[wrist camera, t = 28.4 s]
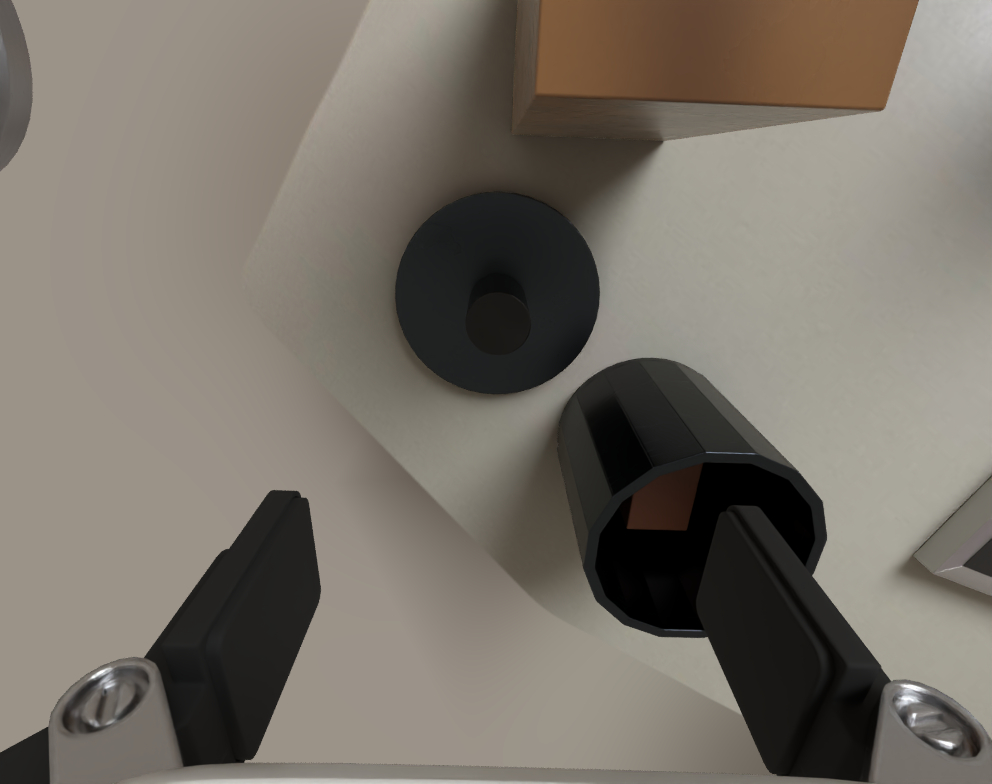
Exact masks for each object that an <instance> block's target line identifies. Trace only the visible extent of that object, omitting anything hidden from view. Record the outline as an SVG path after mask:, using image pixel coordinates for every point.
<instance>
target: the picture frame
mask: <svg viewBox="0 0 992 784" xmlns="http://www.w3.org/2000/svg"><path fill="white" fill-rule="evenodd" d="M913 556H914V557H915V558H916V559H917V560H918V561H919V562H920V563H922V564H923V565H924V566H925V567H926V568H927V569H928V570H929V571H930V572H931V573H932V574H935V575H938V576H940V577H943V578H945V579H948V580H951V581H953V582H956V583H958V584H961V585H964V586H966V587H969V588H972V589H974V590H977V591H979V592H982V593H985V594H987V595H990V596H992V477H991V478H990V479H989V480H988V481H987V482H986V483H985V484H984V485H983V486H982V487H981V488H980V489H979V490H978V491H977V492H976V493H975V494H974V495H973V496H972V497H971V498H970V499H969V500H968V501H967V502H966V503H965V504H964V505H963V506H962V507H961V508H960V509H959V510H958V511H957V512H956V513H955V514H954V515H953V516H952V517H951V518H950V519H949V520H948V521H947V522H946V523H945V524H944V525H943V526H942V527H941V528H940V529H939V530H938V531H937V532H936V533H935V534H934V535H933V536H932V537H931V538H930V539H929V540H928V541H927V542H926V543H925V544H924V545H923V546H922V547H921V548H920V549H919V550H918V551H917V552H916V553H915V554H914V555H913Z"/></svg>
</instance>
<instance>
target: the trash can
mask: <svg viewBox="0 0 992 784" xmlns="http://www.w3.org/2000/svg"><path fill="white" fill-rule="evenodd" d="M557 442H558V447H557V452H558V456H559V461H560V465H561V470H562V474H563V479H564V483H565V488H566V492H567V497H568V501H569V506H570V510H571V515H572V519H573V524H574V528H575V533H576V537H577V542H578V546H579V551H580V555H581V560H582V564H583V569H584V572H585V574H586V577H587V579H588V582H589V584H590V587H591V589H592V592H593V595H594V597H595V600H596V601H597V602H598V603H599V604H600V605H601V606H603V607H604V608H605V609H606V610H607V611H608V612H610V613H611V614H612V615H613V616H614V617H615V618H616V619H618V620H619V621H620V622H621V623H622V624H624V625H626V626H629V627H632V628H635V629H638V630H641V631H644V632H647V633H650V634H653V635H655V636H658V637H684V638H702V637H703V638H705V637H708V636H707V634H706V632H705V629H704V627H703V625H702V623H701V620H700V618H699V616H698V613H697V608H696V599H697V594H698V591H699V587H700V583H701V580H702V576H703V572H704V569H705V565H706V561H707V557H708V554H709V550H710V546H711V543H712V539H713V535H714V532H715V528H716V524H717V521H718V517H719V514H720V513H721V512H723V511H725V512H726V510H727V508H728V507H729V506H731V505H739V506H757V507H759V508H760V509H761V510H762V511H763V513H764V514H765V515H766V517H767V518H768V519H769V520H770V522H771V523H772V524H773V526H774V527H775V528H776V530H777V531H778V532H779V534H780V535H781V536H782V537H783V539H784V540H785V541H786V543H787V544H788V545H789V547H790V548H791V549H792V551H793V552H794V553H795V554H796V556H797V557H798V558H799V560H800V561H801V562H802V564H803V565H804V566H805V567H806V569H807V570H808V571H809V573H810V574H811V575H812V574H814V571H815V569H816V566H817V564H818V561H819V559H820V556H821V553H822V551H823V548H824V546H825V543H826V541H827V532H826V524H825V516H824V508H823V502H822V500H821V499H820V498H819V496H818V495H817V494H816V493H815V491H814V490H813V489H812V488H811V486H810V485H809V484H808V483H807V481H806V480H805V479H804V478H803V476H802V475H801V474H800V473H799V471H798V470H797V469H796V468H795V467H794V466H793V465H792V464H791V463H790V462H789V461H788V460H787V459H786V458H785V457H784V456H783V455H782V454H781V453H780V452H779V451H778V450H777V449H776V448H775V447H774V446H773V445H772V444H771V443H770V442H769V441H768V440H767V439H766V438H765V437H764V436H763V435H762V434H761V433H760V432H759V431H758V430H757V429H756V428H755V427H754V426H753V425H752V424H751V423H750V422H749V421H748V420H747V419H746V418H745V417H744V416H743V415H742V414H741V413H740V412H739V411H738V410H737V409H736V408H735V407H734V406H733V405H732V404H731V403H730V402H729V401H728V400H727V399H726V398H725V397H724V396H723V395H722V394H721V393H720V392H719V391H718V390H717V389H716V388H715V387H714V386H713V385H712V384H711V383H710V382H709V381H708V380H707V379H706V378H705V377H704V376H703V375H701V374H699V373H697V372H696V371H695V370H693V369H691V368H689V367H687V366H686V365H683V364H681V363H678V362H675V361H671V360H667V359H659V358H640V359H633V360H628V361H624V362H621V363H618V364H615V365H613V366H610V367H608V368H606V369H604V370H602V371H600V372H598V373H597V374H595V375H594V376H593V377H591V378H590V379H588V380H587V381H586V382H585V383H584V384H583V385H582V386H581V387H580V388H579V389H578V390H577V391H576V392H575V393H574V395H573V396H572V397H571V399H570V400H569V402H568V403H567V405H566V407H565V409H564V411H563V413H562V416H561V419H560V422H559V428H558V438H557ZM702 463H703V466H702V470H701V474H700V478H699V482H698V486H697V490H696V494H695V499H694V503H693V507H692V511H691V515H690V519H689V523H688V527H687V530H686V531H685V530H647V529H627V528H626V525H625V523H624V520H623V517H622V515H621V512H620V509H619V506H620V504H621V503H622V502H623V501H624V500H626V499H627V498H629V497H630V496H632V495H633V494H634V493H636V492H637V491H639V490H640V489H642V488H643V487H644V486H646V485H647V484H649V483H650V482H652V481H653V480H654V479H656V478H657V477H659V476H662V475H665V474H668V473H672V472H675V471H678V470H682V469H685V468H688V467H692V466H695V465H698V464H702Z"/></svg>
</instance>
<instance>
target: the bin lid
mask: <svg viewBox="0 0 992 784" xmlns="http://www.w3.org/2000/svg"><path fill="white" fill-rule="evenodd" d="M599 297H600V288H599V277H598V273H597V268H596V264H595V261H594V259H593V256H592V253H591V251H590V249H589V247H588V245H587V243H586V241H585V240H584V238H583V237H582V236H581V234H580V233H579V231H578V230H577V229H576V228H575V227H574V226H573V224H572V223H571V222H570V221H569V220H568V219H567V218H565V217H564V216H563V215H562V214H560V213H559V212H558V211H557V210H555V209H554V208H552V207H550V206H549V205H547V204H545V203H543V202H541V201H539V200H536V199H534V198H532V197H529V196H525V195H521V194H517V193H509V192H485V193H479V194H474V195H470V196H467V197H464V198H461V199H458V200H456V201H454V202H452V203H450V204H448V205H446V206H445V207H443V208H442V209H440V210H439V211H437V212H436V213H435V214H433V215H432V216H431V217H430V218H429V219H428V220H427V221H426V222H425V223H424V224H423V225H422V226H421V227H420V228H419V229H418V231H417V232H416V233H415V234H414V236H413V237H412V239H411V241H410V242H409V244H408V245H407V247H406V250H405V252H404V254H403V256H402V259H401V262H400V265H399V269H398V273H397V279H396V293H395V299H396V308H397V314H398V318H399V322H400V325H401V327H402V330H403V333H404V335H405V337H406V339H407V341H408V343H409V344H410V346H411V348H412V349H413V351H414V352H415V353H416V355H417V356H418V357H419V358H420V359H421V361H422V362H423V363H424V364H425V365H426V366H427V367H428V368H430V369H431V370H432V371H433V372H434V373H436V374H437V375H438V376H440V377H442V378H443V379H445V380H446V381H448V382H450V383H452V384H454V385H456V386H458V387H461V388H464V389H467V390H470V391H475V392H480V393H487V394H508V393H515V392H520V391H524V390H527V389H531V388H533V387H536V386H538V385H541V384H543V383H545V382H546V381H548V380H550V379H552V378H553V377H555V376H556V375H558V374H559V373H560V372H562V371H563V370H564V369H565V368H566V367H567V366H568V365H569V364H571V363H572V362H573V360H574V359H575V358H576V357H577V356H578V354H579V353H580V352H581V350H582V349H583V347H584V346H585V344H586V343H587V341H588V339H589V337H590V334H591V332H592V330H593V327H594V324H595V321H596V318H597V313H598V308H599Z"/></svg>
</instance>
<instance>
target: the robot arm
mask: <svg viewBox="0 0 992 784" xmlns="http://www.w3.org/2000/svg"><path fill="white" fill-rule="evenodd" d="M320 593H321V586H320V578H319V571H318V565H317V557H316V550H315V543H314V536H313V529H312V522H311V516H310V508H309V502H308V499H307V498H301V495H300V493H299V492H298V491H282V490H272V491H270V492H269V493H268V495H267V496H266V497H265V499H264V500H263V502H262V503H261V504H260V506H259V507H258V509H257V510H256V511H255V513H254V514H253V516H252V517H251V519H250V520H249V521H248V523H247V524H246V526H245V527H244V528H243V530H242V532H241V533H240V534H239V536H238V537H237V538H236V540H235V541H234V543H233V544H232V546H231V547H230V548H229V549H226V550H224V551H222V552H221V553H220V554H219V555H218V556H217V557H216V559H215V560H214V562H213V563H212V564H211V566H210V567H209V569H208V570H207V571H206V572H205V574H204V575H203V577H202V578H201V579H200V581H199V582H198V584H197V585H196V586H195V588H194V589H193V590H192V592H191V593H190V595H189V596H188V597H187V599H186V600H185V602H184V603H183V604H182V606H181V607H180V608H179V610H178V611H177V613H176V614H175V615H174V617H173V618H172V620H171V621H170V622H169V624H168V625H167V627H166V628H165V629H164V631H163V632H162V633H161V635H160V636H159V638H158V639H157V640H156V642H155V643H154V645H153V646H152V647H151V649H150V650H149V651H148V653H147V654H146V656H145V657H144V658H138V657H132V658H125V659H119V660H116V661H113V662H110V663H108V664H105V665H102V666H100V667H99V668H97V669H95V670H93V671H91V672H90V673H88V674H86V675H85V676H84V677H82V678H81V679H80V680H79V681H77V682H76V683H75V684H73V685H72V686H71V687H70V688H69V689H68V690H67V691H66V693H64V695H63V696H62V697H61V698H60V699H59V701H58V702H57V704H56V706H55V707H54V709H53V711H52V712H51V716H50V721H49V726H48V727H46V728H45V729H43V730H41V731H39V732H37V733H36V734H34V735H32V736H30V737H28V738H26V739H24V740H23V741H21V742H19V743H17V744H15V745H13V746H11V747H10V748H8V749H6V750H4V751H2V752H0V784H992V740H991V738H990V737H989V735H988V734H987V732H986V731H985V729H984V728H983V726H982V725H981V724H980V723H979V722H978V720H977V719H976V718H975V717H974V716H973V715H972V714H971V713H970V712H969V711H968V710H966V709H965V708H964V707H963V706H961V705H960V704H959V703H958V702H956V701H955V700H954V699H952V698H951V697H949V696H947V695H945V694H944V693H942V692H940V691H939V690H937V689H935V688H932V687H930V686H927V685H925V684H923V683H920V682H915V681H910V680H893V681H891V680H890V679H889V678H888V677H887V675H886V674H885V673H884V671H883V670H882V669H881V665H880V664H879V663H878V661H877V660H876V659H875V658H874V656H873V655H872V654H871V652H870V651H869V650H868V648H867V647H866V646H865V645H864V643H863V642H862V641H861V639H860V638H859V637H858V635H857V634H856V633H855V631H854V630H853V629H852V628H851V626H850V625H849V624H848V622H847V621H846V620H845V618H844V617H843V616H842V614H841V613H840V612H839V611H838V609H837V608H836V607H835V605H834V604H833V603H832V601H831V600H830V599H829V598H828V596H827V595H826V594H825V592H824V591H823V590H822V588H821V587H820V586H819V584H818V583H817V582H816V581H815V579H814V578H813V577H812V575H811V574H810V573H809V571H808V570H807V569H806V567H805V566H804V565H803V564H802V562H801V561H800V560H799V558H798V557H797V556H796V554H795V553H794V552H793V551H792V549H791V548H790V547H789V545H788V544H787V543H786V541H785V540H784V539H783V537H782V536H781V535H780V534H779V532H778V531H777V530H776V528H775V527H774V526H773V524H772V523H771V522H770V520H769V519H768V518H767V517H766V515H765V514H764V513H763V511H762V510H761V509H760V508H759V507H757V506H739V505H731V506H729V507H728V508H727V510H726V512H725V511H723V512H721V513H720V514H719V517H718V521H717V524H716V528H715V532H714V535H713V539H712V543H711V546H710V550H709V554H708V557H707V561H706V565H705V569H704V572H703V576H702V580H701V583H700V587H699V591H698V594H697V599H696V608H697V613H698V616H699V618H700V620H701V623H702V625H703V627H704V629H705V632H706V634H707V636H708V638H709V641H710V643H711V645H712V647H713V650H714V652H715V654H716V656H717V659H718V661H719V663H720V665H721V668H722V670H723V672H724V674H725V677H726V679H727V681H728V683H729V686H730V688H731V690H732V692H733V694H734V697H735V699H736V701H737V703H738V706H739V708H740V710H741V712H742V715H743V717H744V719H745V721H746V724H747V726H748V728H749V730H750V732H751V735H752V737H753V739H754V742H755V744H756V746H757V748H758V751H759V753H760V755H761V757H762V760H763V762H764V764H765V766H766V768H767V769H768V770H769V772H770V773H772V774H777V776H770V775H751V774H750V775H749V774H724V773H692V772H662V771H631V770H600V769H599V770H598V769H561V768H527V767H489V766H488V767H486V766H448V765H447V766H445V765H401V764H399V765H398V764H353V763H244V761H245V760H251V759H253V758H254V756H255V755H256V753H257V751H258V748H259V746H260V744H261V741H262V739H263V737H264V734H265V732H266V729H267V727H268V725H269V722H270V720H271V717H272V715H273V712H274V710H275V707H276V705H277V702H278V700H279V698H280V695H281V693H282V690H283V688H284V686H285V683H286V681H287V678H288V676H289V674H290V671H291V669H292V666H293V664H294V661H295V659H296V657H297V654H298V652H299V649H300V647H301V644H302V642H303V640H304V637H305V635H306V632H307V630H308V627H309V625H310V622H311V620H312V618H313V615H314V613H315V610H316V608H317V606H318V603H319V599H320Z"/></svg>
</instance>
